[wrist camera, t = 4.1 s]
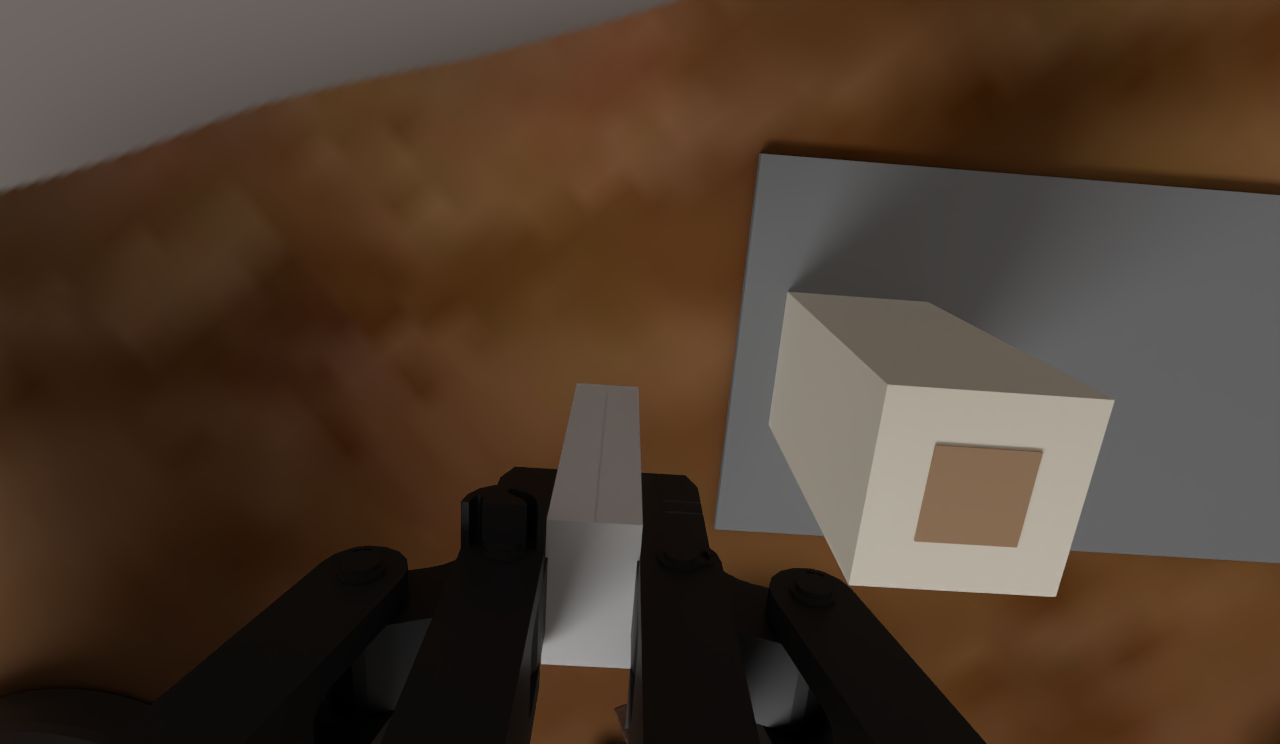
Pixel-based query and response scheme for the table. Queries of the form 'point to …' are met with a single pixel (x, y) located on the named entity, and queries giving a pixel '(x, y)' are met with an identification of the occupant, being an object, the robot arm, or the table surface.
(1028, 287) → the grey mat
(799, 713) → the robot arm
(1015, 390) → the cream block
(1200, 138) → the table surface
